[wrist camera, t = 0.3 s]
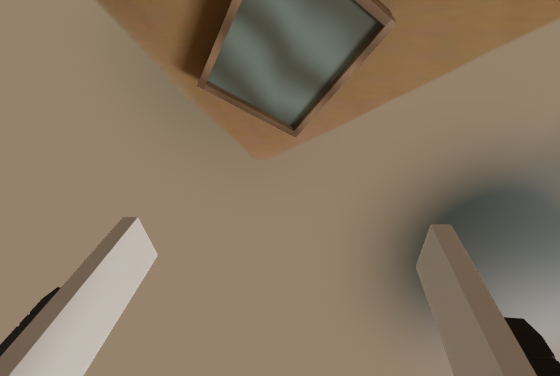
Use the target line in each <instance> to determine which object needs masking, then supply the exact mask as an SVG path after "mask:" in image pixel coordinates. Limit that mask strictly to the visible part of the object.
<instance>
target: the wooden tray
mask: <svg viewBox="0 0 560 376" xmlns="http://www.w3.org/2000/svg"><path fill="white" fill-rule="evenodd" d="M396 25H397V23H396V21H395V19H394V17H393V16H392V14H391V12H390V10H389V9H388V8H387V7H386V6H384V5H383V4H382V3H381V2H380V1H379V0H232V2H231V4H230V6H229V9H228V11H227V14H226V16H225V19H224V21H223V24H222V26H221V28H220V31H219V33H218V36H217V38H216V41H215V43H214V46H213V48H212V51H211V53H210V55H209V58H208V60H207V63H206V65H205V68H204V70H203V73H202V75H201V77H200V80H199V82H198V85H197V86H198V87H200V88H202V89H204V90H206V91H208V92H210V93H212V94H214V95H215V96H217V97H219V98H221V99H223V100H225V101H227V102H229V103H231V104H233V105H235V106H236V107H238V108H240V109H242V110H244V111H246V112H248V113H250V114H252V115H254V116H256V117H257V118H259V119H261V120H263V121H265V122H267V123H269V124H271V125H273V126H275V127H277V128H279V129H280V130H282V131H284V132H286V133H288V134H290V135H292V136H294V137H296V136H297V135H298V134H299V133H300V132H301V131H302V130H303V129H304V127H305V126H306V125H307V124H308V123H309V122H310V121H311V120H312V118H313V117H314V116H315V115H316V114H317V113H318V112H319V111H320V110H321V108H322V107H323V106H324V105H325V104H326V103H327V102H328V101H329V99H330V98H331V97H332V96H333V95H334V94H335V93H336V92H337V91H338V89H339V88H340V87H341V86H342V85H343V84H344V83H345V82H346V80H347V79H348V78H349V77H350V76H351V75H352V74H353V73H354V71H355V70H356V69H357V68H358V67H359V66H360V65H361V64H362V63H363V61H364V60H365V59H366V58H367V57H368V56H369V55H370V54H371V52H372V51H373V50H374V49H375V48H376V47H377V46H378V45H379V44H380V42H381V41H382V40H383V39H384V38H385V37H386V36H387V35H388V33H389V32H390V31H391V30H392V29H393V28H394V27H395V26H396Z"/></svg>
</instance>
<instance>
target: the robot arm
mask: <svg viewBox="0 0 560 376" xmlns="http://www.w3.org/2000/svg"><path fill="white" fill-rule="evenodd" d="M157 256H158V255H157V253H156V251H155V249H154V247H153V245H152V243H151V242H150V240H149V238H148V236H147V234H146V232H145V230H144V228H143V226H142V225H141V223H140V221H139V219H138V217H123V218H122V219H121V220H120V221H119V222H118V224H117V225H116V226H115V227H114V228H113V229H112V230H111V231H110V233H109V234H108V235H107V236H106V237H105V238H104V239H103V241H102V242H101V243H100V244H99V245H98V246H97V248H96V249H95V250H94V251H93V252H92V253H91V254H90V255H89V257H88V258H87V259H86V260H85V261H84V262H83V263H82V264H81V266H80V267H79V268H78V269H77V270H76V271H75V272H74V274H73V275H72V276H71V277H70V278H69V279H68V280H67V281H66V283H65V284H64V285H63V286H62V287H61V288H59V287H57V288H56V289H55V290H53V291H52V292H51V293H49V294H48V295H47V296H45V297H44V298H43V299H42V300H41V301H40V302H39V303H38V304H37V305H36V306H35V307H34V308H33V309H32V311H31V312H30V314H29V315H27V316H26V317H25V318H24V319H23V320H22V322H21V323H20V325H19V326H18V327H16V328H15V329H14V330H13V331H12V333H11V334H10V335H9V336H8V337H7V338H6V339H5V340H4V341H3V342H2V344H1V345H0V376H83V375H84V374H85V372H86V370H87V369H88V367H89V366H90V364H91V362H92V360H93V359H94V357H95V356H96V354H97V353H98V351H99V349H100V348H101V346H102V345H103V343H104V341H105V340H106V338H107V336H108V335H109V333H110V332H111V330H112V328H113V327H114V325H115V324H116V322H117V320H118V319H119V317H120V315H121V314H122V312H123V311H124V309H125V307H126V306H127V304H128V303H129V301H130V299H131V298H132V296H133V294H134V293H135V291H136V290H137V288H138V286H139V285H140V283H141V282H142V280H143V278H144V277H145V275H146V273H147V272H148V270H149V269H150V267H151V265H152V264H153V262H154V261H155V259H156V257H157ZM416 269H417V272H418V275H419V278H420V280H421V283H422V286H423V289H424V292H425V295H426V297H427V300H428V303H429V306H430V309H431V312H432V314H433V317H434V320H435V323H436V326H437V329H438V331H439V334H440V337H441V340H442V343H443V345H444V348H445V351H446V354H447V357H448V360H449V362H450V365H451V368H452V371H453V373H454V376H560V363H559V362H558V361H556V359H555V356H554V354H553V353H552V351H551V349H550V348H549V346H548V345H547V343H546V342H545V340H544V339H543V338H542V336H541V335H540V334H539V333H538V332H537V331H536V330H535V329H533V327H531V326H530V325H529V324H528V323H527V322H526V321H525V320H524V319H518V318H505V317H503V315H502V313H501V312H500V310H499V308H498V306H497V305H496V303H495V301H494V299H493V298H492V296H491V294H490V293H489V291H488V289H487V287H486V286H485V284H484V282H483V280H482V279H481V277H480V275H479V273H478V271H477V270H476V268H475V266H474V264H473V263H472V261H471V259H470V258H469V256H468V254H467V252H466V250H465V249H464V247H463V245H462V243H461V242H460V240H459V238H458V236H457V235H456V233H455V231H454V229H453V228H452V226H451V225H437V224H431V225H430V228H429V231H428V233H427V236H426V239H425V242H424V245H423V248H422V251H421V254H420V257H419V259H418V262H417V265H416Z"/></svg>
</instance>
